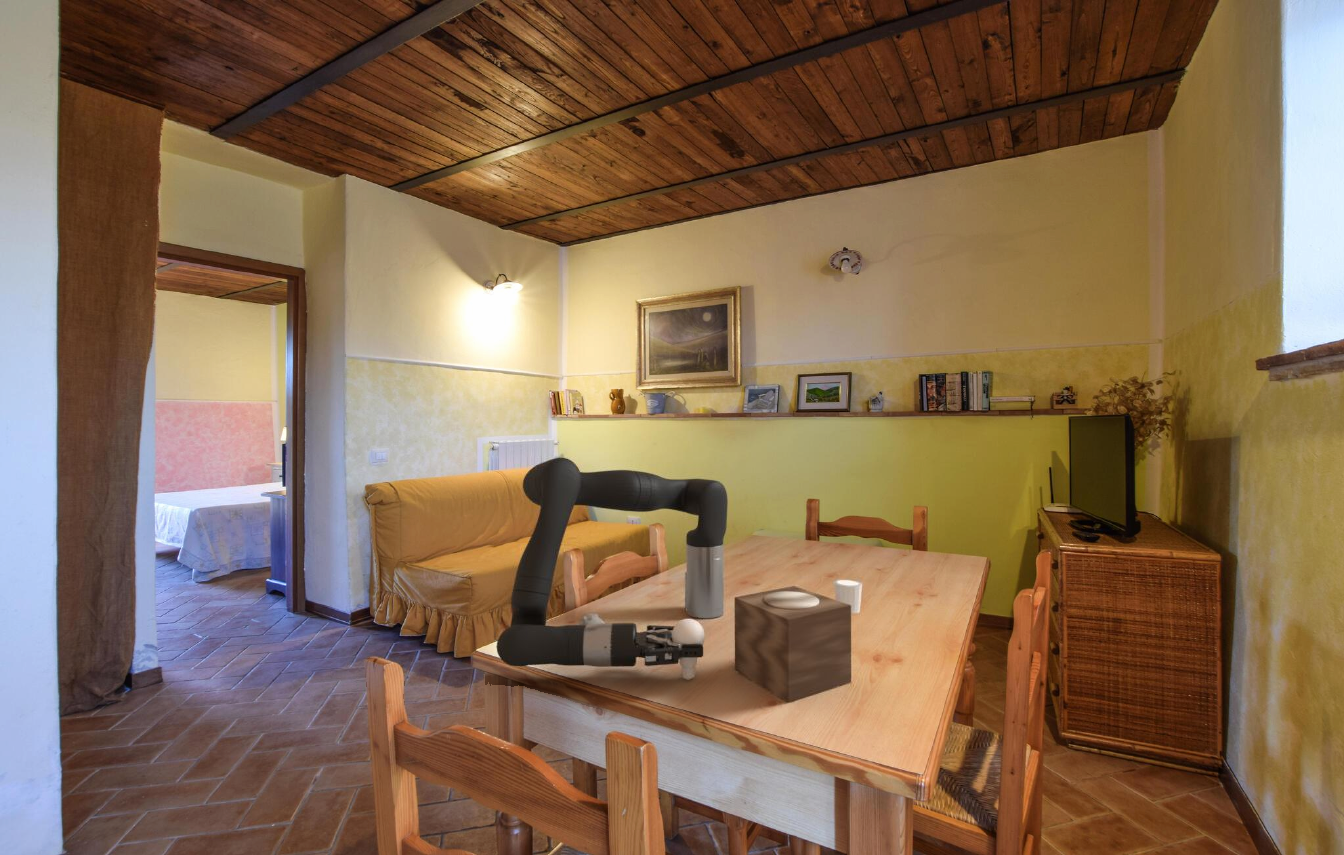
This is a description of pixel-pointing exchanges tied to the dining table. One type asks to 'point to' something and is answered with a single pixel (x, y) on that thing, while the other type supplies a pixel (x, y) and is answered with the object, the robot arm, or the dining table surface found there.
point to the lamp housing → (793, 641)
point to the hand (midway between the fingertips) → (701, 643)
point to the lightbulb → (688, 634)
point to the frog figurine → (590, 620)
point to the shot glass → (849, 593)
